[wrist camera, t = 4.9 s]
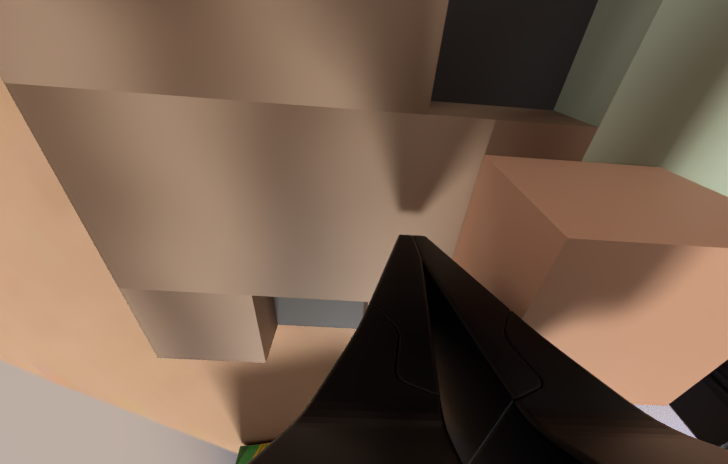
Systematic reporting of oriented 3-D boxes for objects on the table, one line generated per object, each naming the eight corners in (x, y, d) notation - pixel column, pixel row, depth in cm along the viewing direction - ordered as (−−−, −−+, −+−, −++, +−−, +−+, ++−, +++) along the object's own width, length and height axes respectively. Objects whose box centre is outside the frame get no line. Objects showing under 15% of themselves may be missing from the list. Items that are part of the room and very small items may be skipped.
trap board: (818, -67, 7) (997, -109, 5) (548, 334, 16) (575, 377, 14) (-5, -149, 7) (-173, -234, 5) (185, 315, 16) (157, 357, 13)
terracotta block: (659, 166, 8) (862, 256, 5) (575, 293, 11) (667, 405, 8) (484, 154, 8) (568, 238, 5) (444, 286, 11) (478, 396, 7)
